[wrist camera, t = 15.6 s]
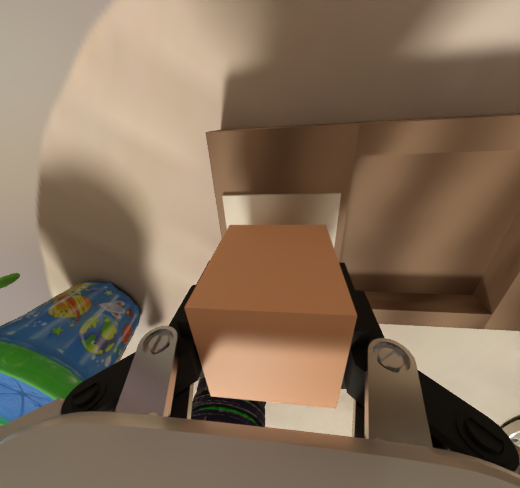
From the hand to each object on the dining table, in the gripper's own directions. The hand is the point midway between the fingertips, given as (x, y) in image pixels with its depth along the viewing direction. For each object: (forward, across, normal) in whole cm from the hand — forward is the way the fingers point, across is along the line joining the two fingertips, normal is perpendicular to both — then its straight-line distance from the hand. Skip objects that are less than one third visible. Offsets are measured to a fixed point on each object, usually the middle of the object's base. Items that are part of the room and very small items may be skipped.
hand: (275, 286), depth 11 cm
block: (+2, 0, 0) cm, 2 cm away
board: (+7, -9, 0) cm, 11 cm away
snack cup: (+8, +19, +10) cm, 23 cm away
